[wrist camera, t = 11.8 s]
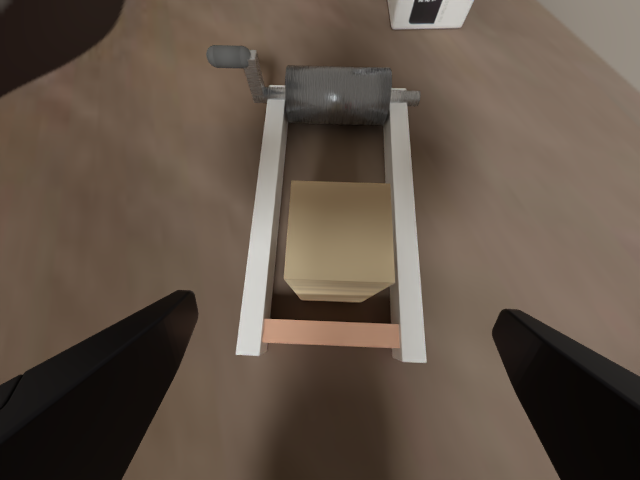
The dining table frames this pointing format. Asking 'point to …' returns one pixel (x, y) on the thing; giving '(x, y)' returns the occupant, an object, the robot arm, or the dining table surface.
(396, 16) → the container
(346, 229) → the tan wooden block
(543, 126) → the dining table surface
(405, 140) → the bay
